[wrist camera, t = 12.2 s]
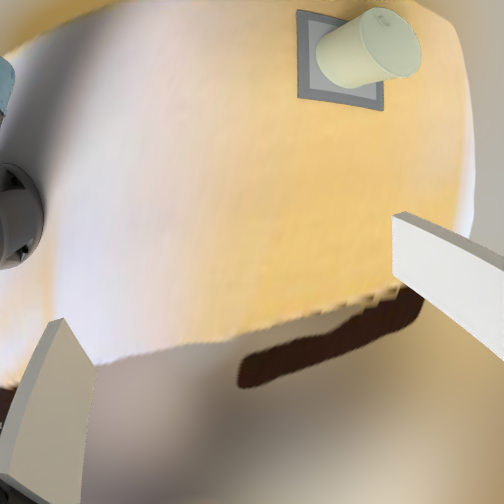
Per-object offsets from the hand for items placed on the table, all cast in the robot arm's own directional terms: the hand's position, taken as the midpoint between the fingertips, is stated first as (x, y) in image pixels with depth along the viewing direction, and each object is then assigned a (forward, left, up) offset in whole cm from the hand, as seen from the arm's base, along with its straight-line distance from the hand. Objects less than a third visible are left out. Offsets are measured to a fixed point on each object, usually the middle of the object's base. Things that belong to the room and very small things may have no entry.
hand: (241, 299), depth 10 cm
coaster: (+20, +19, -29) cm, 40 cm away
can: (+20, +19, -29) cm, 40 cm away
